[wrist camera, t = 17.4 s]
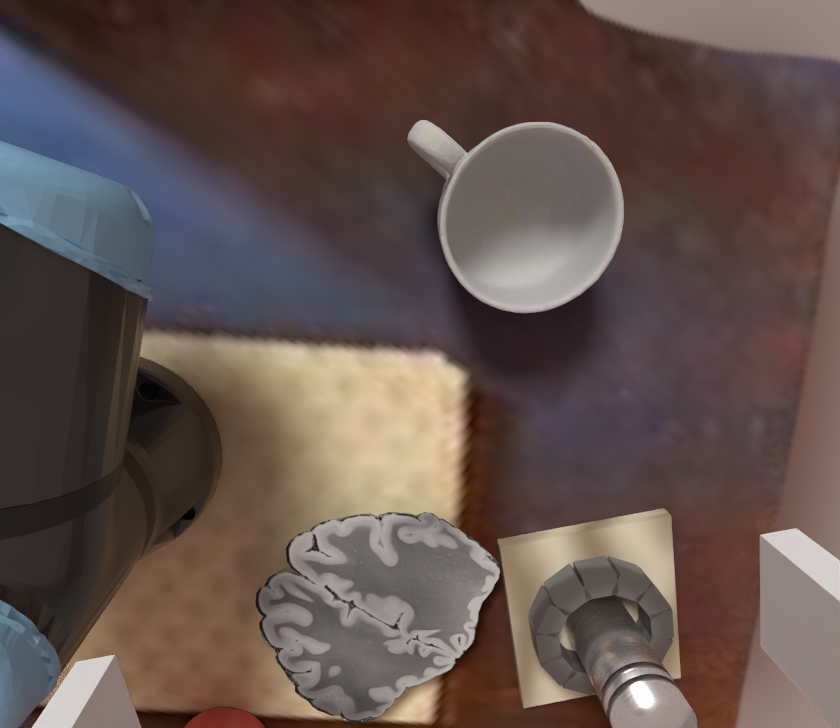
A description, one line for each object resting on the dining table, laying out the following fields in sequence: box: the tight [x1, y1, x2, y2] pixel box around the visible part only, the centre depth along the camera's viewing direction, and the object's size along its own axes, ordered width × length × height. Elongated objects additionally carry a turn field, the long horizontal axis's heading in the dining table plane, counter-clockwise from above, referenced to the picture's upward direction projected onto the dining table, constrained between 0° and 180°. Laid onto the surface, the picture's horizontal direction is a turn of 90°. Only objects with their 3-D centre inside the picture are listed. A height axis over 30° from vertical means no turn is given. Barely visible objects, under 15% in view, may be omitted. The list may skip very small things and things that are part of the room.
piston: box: [565, 595, 697, 728], centre depth 43 cm, size 5×5×11 cm
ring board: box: [497, 508, 681, 708], centre depth 47 cm, size 14×16×4 cm
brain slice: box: [256, 512, 500, 722], centre depth 46 cm, size 20×17×3 cm
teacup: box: [407, 120, 624, 313], centre depth 37 cm, size 14×11×8 cm
